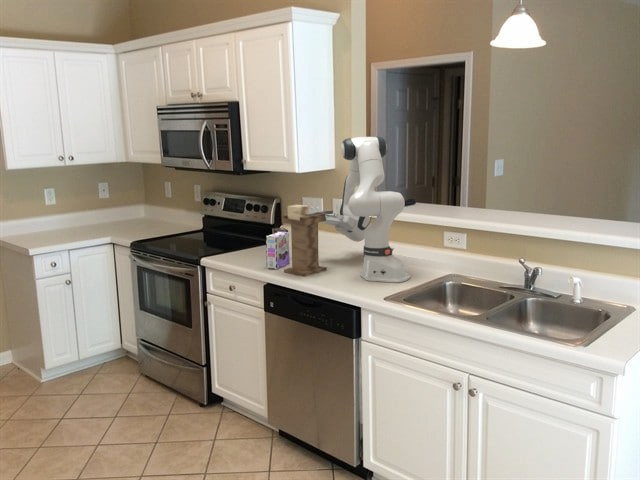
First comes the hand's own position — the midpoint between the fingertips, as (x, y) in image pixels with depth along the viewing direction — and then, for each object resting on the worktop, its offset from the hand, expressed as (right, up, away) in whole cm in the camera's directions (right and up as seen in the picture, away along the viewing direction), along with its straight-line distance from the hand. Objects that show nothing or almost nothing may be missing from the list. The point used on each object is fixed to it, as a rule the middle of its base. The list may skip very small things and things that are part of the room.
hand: (327, 213), depth 290 cm
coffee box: (-24, -23, +20) cm, 39 cm away
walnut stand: (-11, -28, -7) cm, 31 cm away
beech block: (-7, -1, -7) cm, 10 cm away
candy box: (-24, -26, +4) cm, 36 cm away
